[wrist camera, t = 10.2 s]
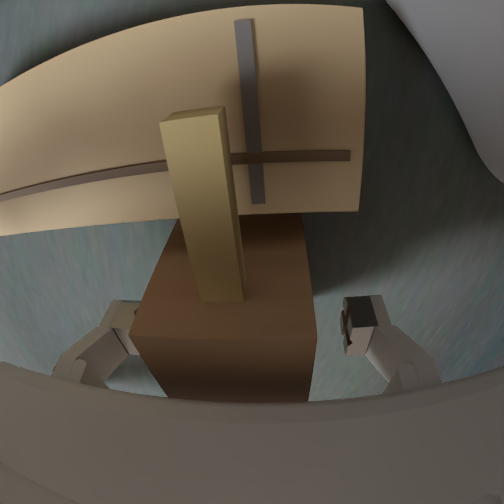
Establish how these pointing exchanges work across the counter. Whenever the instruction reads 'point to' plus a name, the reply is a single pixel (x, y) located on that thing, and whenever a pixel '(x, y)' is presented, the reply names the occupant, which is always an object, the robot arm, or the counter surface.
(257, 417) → the robot arm
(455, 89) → the plastic bottle
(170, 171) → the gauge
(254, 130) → the board
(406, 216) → the counter surface
